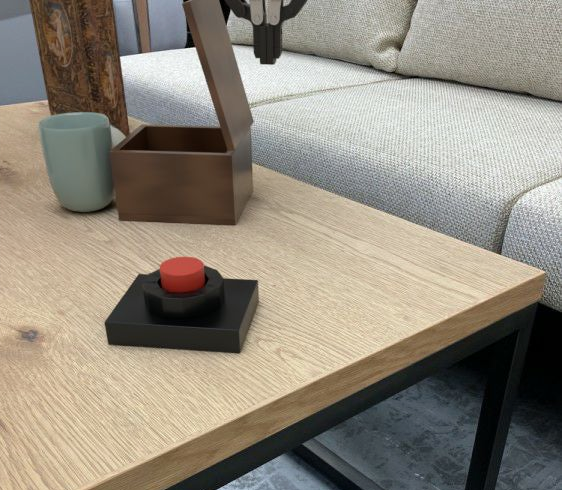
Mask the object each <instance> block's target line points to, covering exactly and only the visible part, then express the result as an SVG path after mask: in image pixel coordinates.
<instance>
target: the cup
mask: <svg viewBox="0 0 562 490" xmlns="http://www.w3.org/2000/svg"><path fill="white" fill-rule="evenodd" d="M37 127H38V135H39V140H40V144H41V150H42V154H43V158H44V159H43V160H44V164H45V168H46V173H47V176H48V180H49V183H50V186H51V188H52V191H53V194H54V195H55V198H56V199H57V201H58V203H59V204H60V205H61V206H62V207H64V208H65V209H67V210H69V211H72V212H77V213H89V212H90V213H91V212H96V211H100V210H102V209H104V208H106V207H107V206H109V205H110V204H111V203H112V201H113V199H114V197H115V190H114V183H113V176H112V170H111V163H110V156H109V151H110V150H112V149H113V141H112V134H111V128H110V122H109V119H108V117H107V116H106V115H104V114H100V113H91V112H75V113H64V114H57V115H53V116H51V115H49V116H47V117H45V118H42V119H41V120H40V121H39V122H38V125H37Z"/></svg>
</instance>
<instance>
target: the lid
mask: <svg viewBox="0 0 562 490" xmlns="http://www.w3.org/2000/svg"><path fill="white" fill-rule="evenodd" d="M181 5H182V9H183V12H184V15H185V19H186V21H187V25H188V29H189V31H190V34H191V38H192V40H193V44H194V48H195V50H196V54H197V58H198V60H199V62H200V66H201V70H202V72H203V77H204V79H205V82H206V85H207V89H208V92H209V96H210V99H211V102H212V105H213V108H214V111H215V114H216V119H217V120H218V124H219V126H220V127H221V131H222V134H223V137H224V140H225V143H226V147H227V150H228V152H229V151H233V150H235V149H236V148H237V146H238V145H239V143H240V142H241V140H242V139H243V137H244V136H245V134H246V133H247V131H248V130H249V128H250V127H251V128H252V125H253V124H254V123H255V121H254V117H253V114H252V110H251V107H250V103H249V100H248V97H247V93H246V90H245V86H244V83H243V79H242V75H241V72H240V69H239V65H238V61H237V58H236V55H235V52H234V48H233V44H232V41H231V37H230V34H229V30H228V27H227V23H226V20H225V16H224V12H223V10H222V6H221V3H220V0H187V1H184V2H183V3H181Z"/></svg>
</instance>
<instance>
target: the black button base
mask: <svg viewBox="0 0 562 490" xmlns="http://www.w3.org/2000/svg"><path fill="white" fill-rule="evenodd" d="M204 274H205V285H204V286H203V287H201V288H199V289H197V290H193V291H188V292H170V291H167V290H164V289H163V288H162V285H161V276H160V268H159V269H156V270H154V271H152V272H150V273H138V274H137V276H136V277H135V278H134V280H133V281H132V283H131V284H130V286H129V287H128V288H127V290H126V291H125V293H124V294H123V295H122V297H121V298H120V300H119V301H118V302H117V304H116V305H115V307H114V308H113V309H112V310H111V312H110V313H109V315H108V316H107V318H105V320H104V328H105V329H104V330H105V334H106V339H107V345H108V346H116V347H117V346H118V347H119V346H120V347H134V348H147V349H148V348H149V349H162V350H163V349H165V350H178V351H194V352H195V351H196V352H211V353H225V354H227V353H228V354H241V353H242V349H243V346H244V343H245V341H246V338H247V335H248V334H249V333H248V332H249V330H250V327H251V325H252V322H253V318H254V316H255V313H256V310H257V308H258V306H259V302H260V294H259V293H260V291H259V279H249V278H247V279H245V278H227V277H223V275H222V274H221V273H220V271H219V270H218V269H216V268H214V267H210V266H207V265H204Z"/></svg>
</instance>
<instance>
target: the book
mask: <svg viewBox="0 0 562 490" xmlns="http://www.w3.org/2000/svg"><path fill="white" fill-rule="evenodd" d="M28 2H29V6H30V12H31V18H32V23H33V29H34V34H35V38H36V39H35V40H36V44H37V51H38V55H39V60H40V67H41V72H42V78H43V82H44V87H45V88H44V89H45V93H46V98H47V104H48V109H49V116H53V115H57V114H64V113H75V112H91V113H100V114H104V115H106V116H107V117H108V119H109V122H110V124H111V125H113V126H114V127H116V128H117V129H119V130H120V131H121V132H122V133H123V134H124V135H125V136H126V137H127V136H128V135H129V134H131V131H130V124H129V117H128V108H127V107H128V106H127V101H126V100H127V99H126V93H125V84H124V76H123V69H122V61H121V53H120V47H119V46H120V45H119V38H118V31H117V24H116V23H117V22H116V14H115V6H114V0H28Z"/></svg>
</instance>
